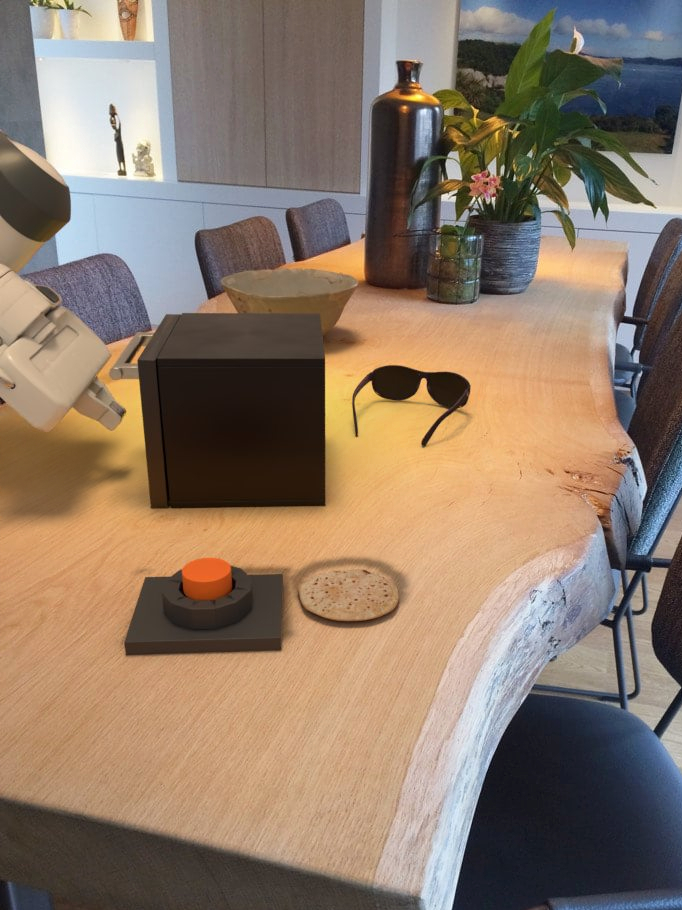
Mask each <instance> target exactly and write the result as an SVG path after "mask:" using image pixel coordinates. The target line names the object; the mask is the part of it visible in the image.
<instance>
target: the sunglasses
mask: <svg viewBox="0 0 682 910" xmlns="http://www.w3.org/2000/svg"><path fill="white" fill-rule="evenodd" d="M423 379H424V380H426V391H427V393H428V395H429V396H430V398H431V399H432V400H433V401H434V402H435V403H436V404H438V406H441V407H444V408H448V409H447V410H446V411H445V412H443V413H442V414H441V415H440V416H439V417H438V418H437V419H436V420H435V421H434V423H433V424H432V425H431V426H430V428H429V429H428V430H427V432H426V434H424V436H423V438H422V439H421V442H420V443H421V446H422V447H426V446H427V445H428V443H429V441H430V440H431V438H432V437H433V435H434V433H435V431H436V430H437V429H438V427H439V426H440V424H441V423H443V421H444V420H446V419H447V418H448V417H449V416H450V415H452V414H453V413H454V412H456V411H457V410H458V409H460V408H463V407H465V406H466V405H467V403H468V402H469V397H470V394H471V387H472V385H471V384H470V382H469V380H468V379H467V378H466V377H465V376H463V375H461V374H459V373H457V372H453V371H422V370H418V369H415V368H411V367H409V366H404V365H397V364H388V365H383V366H379V367H376V368H375V369H373V371H371V372H369V373H368V374H366V376H365V377H364V378H363V379H362V380H361V381H360V382H359V383H358V384H357V386H356V387H355V389H354V391H353V393H352V396H351V397H352V399H351V407H352V416H353V417H352V418H353V425H354V433H355V434H354V435H355V437H358V436H359V425H358V417H357V411H356V397H357V396H358V394H359V393H360V392H361V390H362V389H363V388H364V387H365V386H367V385H368V384H369V383H370V382H371V387H372V390H373V392H374V393H375V395H377V396H378V397H380V398H382V399H385V400H390V401H396V402H397V401H399V402H400V401H405V400H408V399H411V398H412V397H414V396H415V395H416V394H417V393H418V391H419V389H420V386H421V383H422V380H423Z"/></svg>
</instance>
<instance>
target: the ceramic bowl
mask: <svg viewBox="0 0 682 910" xmlns="http://www.w3.org/2000/svg"><path fill="white" fill-rule="evenodd" d="M220 284H221V286H222V288H223V290H224V292H225V293H226V296H227V297H228V299H229V300H230V302H231V304H232V306H233V307H234V309H235V310H236V313H297V314H320V317H321V326H322V335H323V337H324V336H325V335H327V334H328V333H329V331H330V330H332V329H333V328H334V327H335V326H336V325H337V324H338V322H339V320H340V318H341V316H342V314H343V312H344V309H345V307H346V305H347V304H348V303H349V301H350V299H351V298H352V296H353V295H354V293H355V291H356V290H357V288H358V286H359V281H358V280H357V278H356V277H354V276H353V275H350V274H345V273H342V272H335V271H330V270H324V269H316V268H315V269H314V268H304V269H303V268H275V269H274V270H273V269H272V268H271V269H257V270H245V271H240V272H235V273H232V274H230V275H229V274H228V275H226V276H224V277H222V278H221V280H220Z"/></svg>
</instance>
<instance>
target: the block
mask: <svg viewBox="0 0 682 910" xmlns="http://www.w3.org/2000/svg"><path fill="white" fill-rule="evenodd" d="M230 566H231V575H232V590H231V592H230V593H229V594H228V595H227V596H224V597H221V598H218V599H214V600H194V599H191V598H188V597H187V596H186V595H185V594H184V591H183V581H182V569H183V568H182V569H179V570H178V571H176V572H175V573H174V574H172V575H169V576H145V577H144V580H143V583H142V586H141V589H140V592H139V595H138V597H137V601H136V604H135V608H134V611H133V613H132V617H131V620H130V623H129V625H128V626H129V627H128V629H127V633H126V636H125V638H124V641H123V642H124V643H123V644H124V652H125V656H146V655H148V656H149V655H176V654H177V655H179V654H181V655H182V654H210V653H211V654H214V653H240V652H241V653H243V652H249V653H250V652H275V651H280V652H281V651H282V644H283V609H284V608H283V607H284V574H283V573H264V574H263V573H261V574H259V573H258V574H248V573H247V572H245V571H244V569H242V568H241V567H237V566H234V565H230Z"/></svg>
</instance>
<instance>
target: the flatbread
mask: <svg viewBox="0 0 682 910" xmlns="http://www.w3.org/2000/svg"><path fill="white" fill-rule="evenodd" d="M297 592H298V595H299V599H300V602H301V604H302V605H301V606H303V608H304V609H305V610H306V611H308V612H310V613H312V614H314V615H317V616H318V617H320V618H324V619H327V620H332V621H338V622H360V621H361V622H362V621H369V620H373V619H376V618H379V617H380V618H381V617H382V616H385V615H387V614H389V613H390V612H393V610H394V609H395V608H396V607H397V606H398V603H399V599H400V595H399V594H400V593H399V590H398V586H397V585H396V584H395V583H394V582H393V581H391V580H389V579H388V578H387V577H386V578H385V577H384V576H382V575H381V574H379V573H376V572H373V571H369V570H366V569H363V568H361V569H353V568H352V569H341V570H330V571H327V572H323V573H317V574H314V575H313V576H312V577H310V578H309V579H307V580H305V581H304V582H302V583H300V584H299V585H298V586H297Z"/></svg>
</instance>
